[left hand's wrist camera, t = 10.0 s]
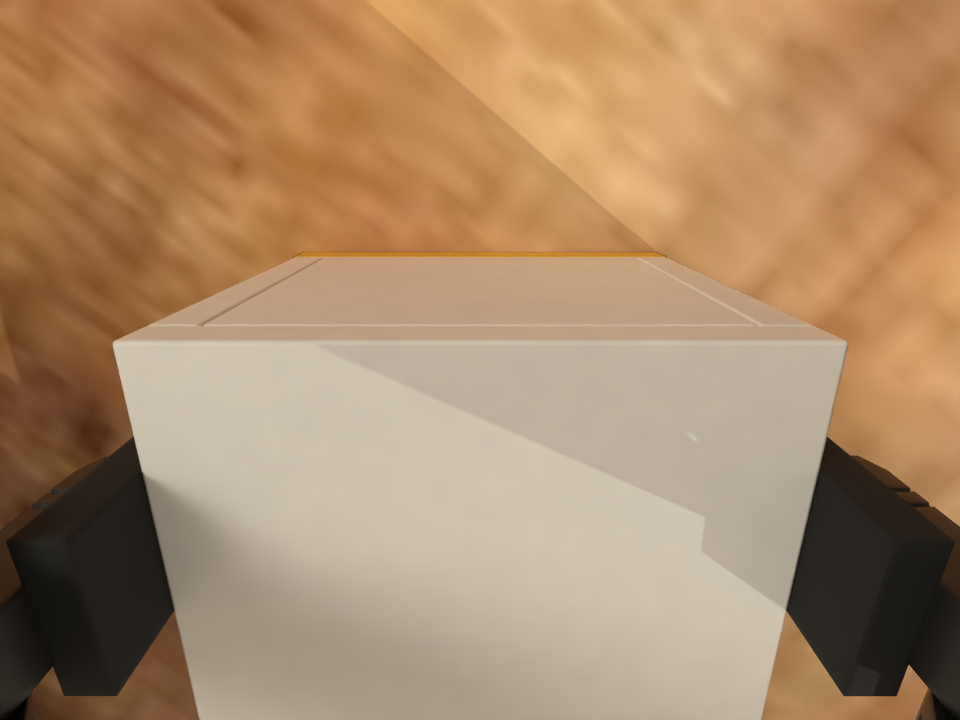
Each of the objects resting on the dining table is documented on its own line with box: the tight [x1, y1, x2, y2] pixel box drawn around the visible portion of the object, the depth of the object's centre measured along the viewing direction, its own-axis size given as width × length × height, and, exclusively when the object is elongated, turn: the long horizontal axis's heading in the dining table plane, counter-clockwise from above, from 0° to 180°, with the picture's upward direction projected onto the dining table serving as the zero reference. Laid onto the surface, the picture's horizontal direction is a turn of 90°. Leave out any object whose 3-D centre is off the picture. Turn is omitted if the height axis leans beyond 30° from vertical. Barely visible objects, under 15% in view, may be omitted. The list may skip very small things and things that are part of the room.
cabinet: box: [113, 252, 848, 720], centre depth 14 cm, size 14×10×9 cm
